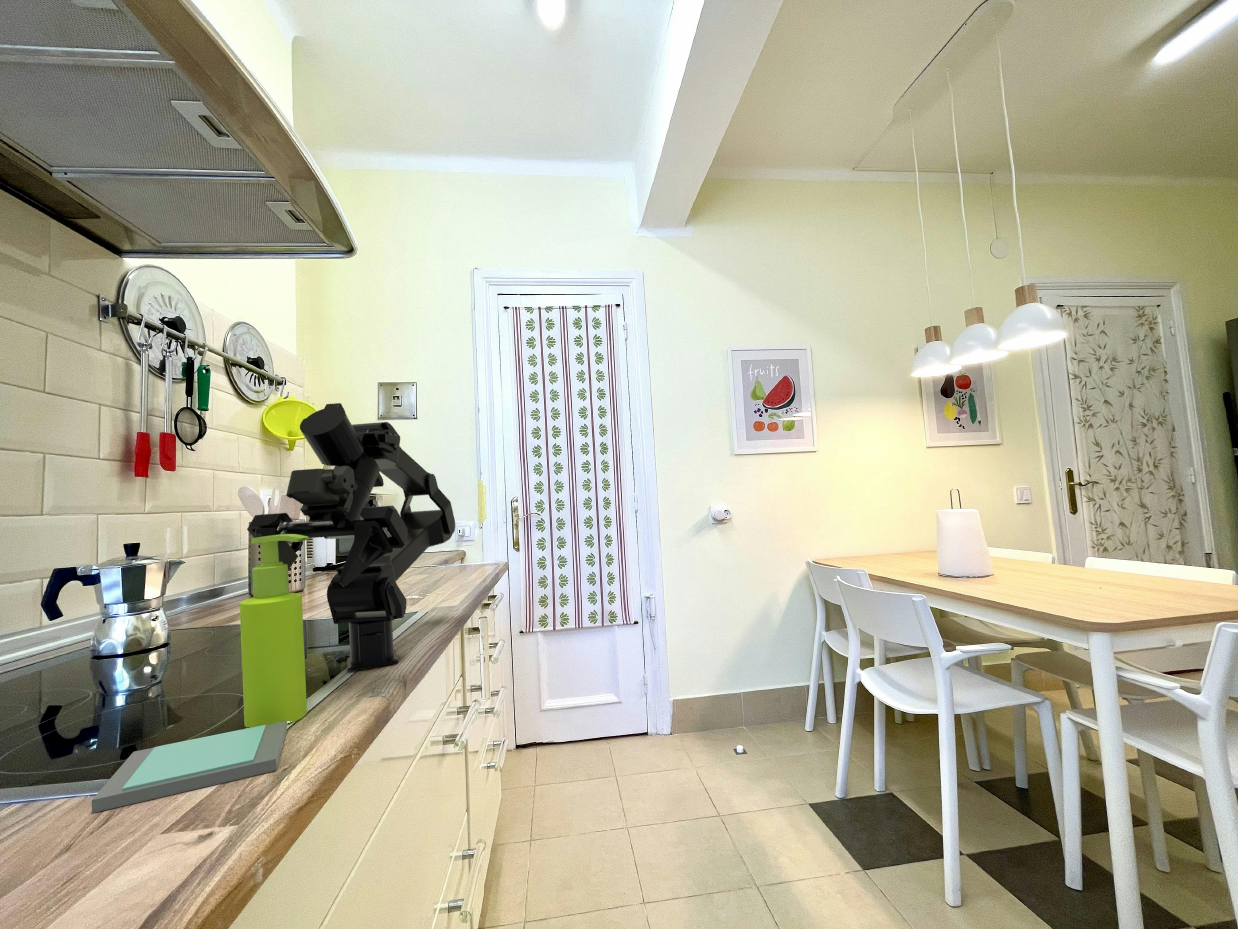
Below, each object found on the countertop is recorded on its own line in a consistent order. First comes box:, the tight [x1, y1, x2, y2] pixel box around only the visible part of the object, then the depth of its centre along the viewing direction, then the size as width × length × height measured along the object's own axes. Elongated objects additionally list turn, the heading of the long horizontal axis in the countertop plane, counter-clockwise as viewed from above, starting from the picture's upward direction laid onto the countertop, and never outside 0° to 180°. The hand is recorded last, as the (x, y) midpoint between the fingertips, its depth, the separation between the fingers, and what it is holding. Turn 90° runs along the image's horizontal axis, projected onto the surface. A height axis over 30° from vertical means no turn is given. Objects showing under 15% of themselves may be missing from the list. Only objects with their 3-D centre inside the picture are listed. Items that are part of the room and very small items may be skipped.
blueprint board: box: [91, 721, 288, 814], centre depth 53 cm, size 10×12×1 cm
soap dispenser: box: [239, 534, 310, 728], centre depth 64 cm, size 6×7×20 cm
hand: (304, 586), depth 69 cm, fingers open, 9 cm apart
